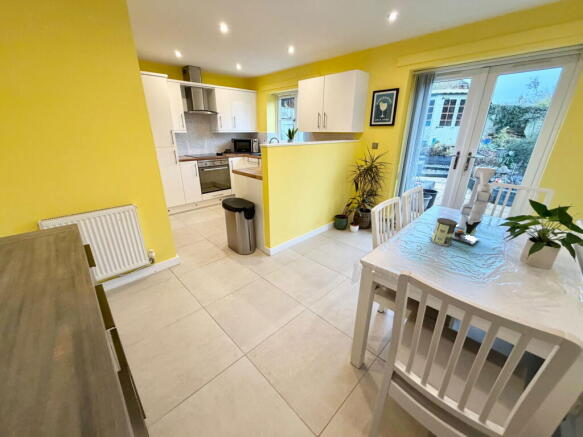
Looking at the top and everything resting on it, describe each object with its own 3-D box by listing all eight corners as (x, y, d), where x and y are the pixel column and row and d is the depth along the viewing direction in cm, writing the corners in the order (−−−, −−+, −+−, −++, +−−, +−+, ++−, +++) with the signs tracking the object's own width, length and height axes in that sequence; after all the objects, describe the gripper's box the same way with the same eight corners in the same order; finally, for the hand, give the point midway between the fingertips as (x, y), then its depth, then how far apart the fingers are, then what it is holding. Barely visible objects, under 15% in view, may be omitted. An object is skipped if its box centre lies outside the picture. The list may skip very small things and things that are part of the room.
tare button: (458, 231, 151) (459, 229, 150) (462, 232, 149) (463, 230, 148) (457, 232, 149) (457, 229, 149) (461, 233, 148) (462, 231, 147)
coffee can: (447, 239, 145) (454, 219, 139) (452, 247, 136) (459, 225, 130) (429, 236, 148) (435, 216, 143) (433, 243, 139) (439, 222, 134)
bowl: (465, 231, 144) (467, 225, 142) (475, 234, 140) (477, 228, 138) (462, 233, 141) (464, 227, 139) (472, 236, 137) (475, 230, 135)
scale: (455, 233, 154) (456, 229, 152) (478, 240, 144) (479, 236, 143) (448, 238, 146) (449, 234, 145) (471, 246, 137) (473, 242, 136)
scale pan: (462, 234, 146) (462, 233, 146) (476, 238, 141) (477, 237, 140) (458, 237, 142) (458, 236, 142) (473, 241, 136) (473, 241, 136)
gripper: (473, 207, 141) (466, 227, 147) (465, 212, 133) (458, 232, 138) (487, 210, 136) (479, 230, 142) (479, 215, 128) (471, 237, 133)
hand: (469, 232), depth 140 cm, fingers closed on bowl, 5 cm apart
